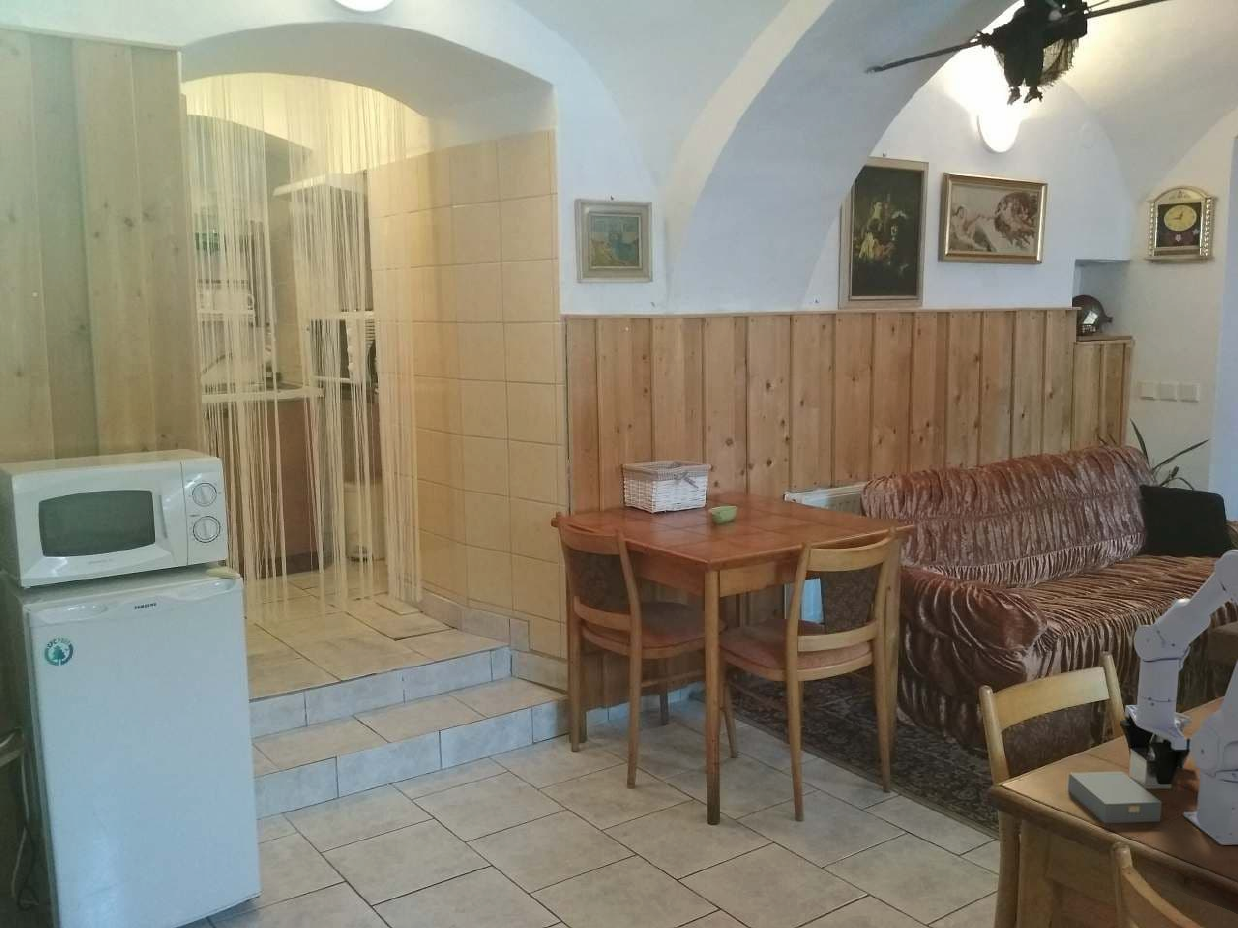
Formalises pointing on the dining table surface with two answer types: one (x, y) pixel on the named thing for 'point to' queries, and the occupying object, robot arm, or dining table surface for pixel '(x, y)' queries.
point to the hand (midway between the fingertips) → (1150, 773)
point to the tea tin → (1144, 768)
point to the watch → (1184, 721)
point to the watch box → (1114, 797)
